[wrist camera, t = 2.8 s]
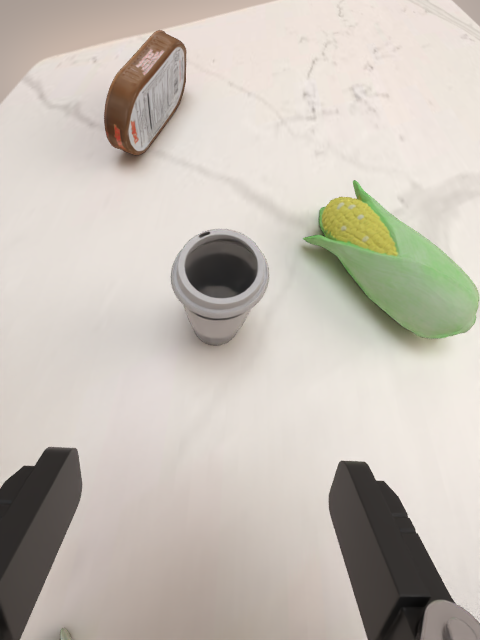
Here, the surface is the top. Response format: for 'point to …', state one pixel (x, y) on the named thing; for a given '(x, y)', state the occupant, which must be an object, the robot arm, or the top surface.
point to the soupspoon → (64, 635)
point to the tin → (145, 93)
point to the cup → (219, 282)
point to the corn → (398, 267)
